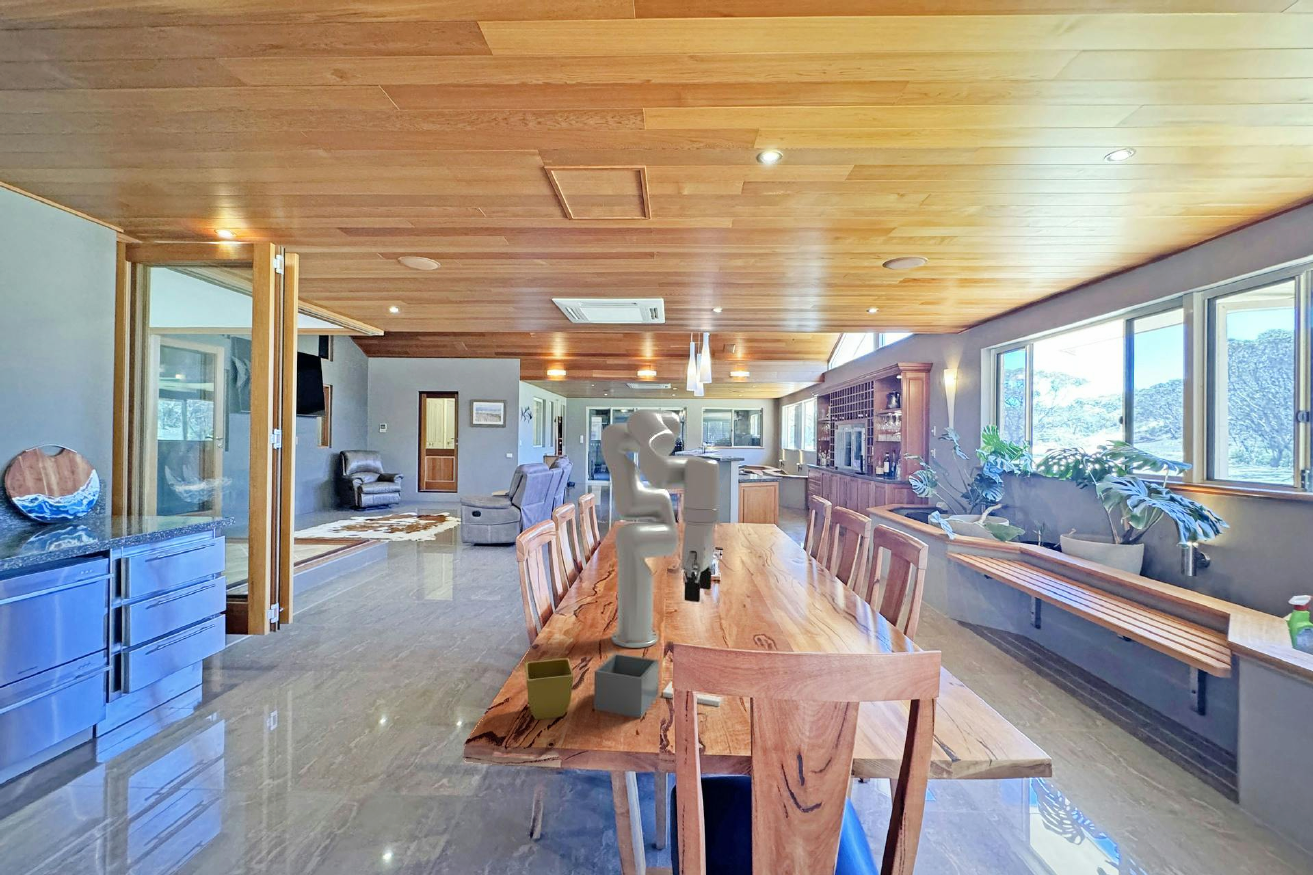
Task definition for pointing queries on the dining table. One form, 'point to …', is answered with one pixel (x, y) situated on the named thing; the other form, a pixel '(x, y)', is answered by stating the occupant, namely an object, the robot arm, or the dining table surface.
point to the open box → (626, 685)
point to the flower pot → (549, 687)
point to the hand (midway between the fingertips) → (698, 594)
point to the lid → (700, 698)
